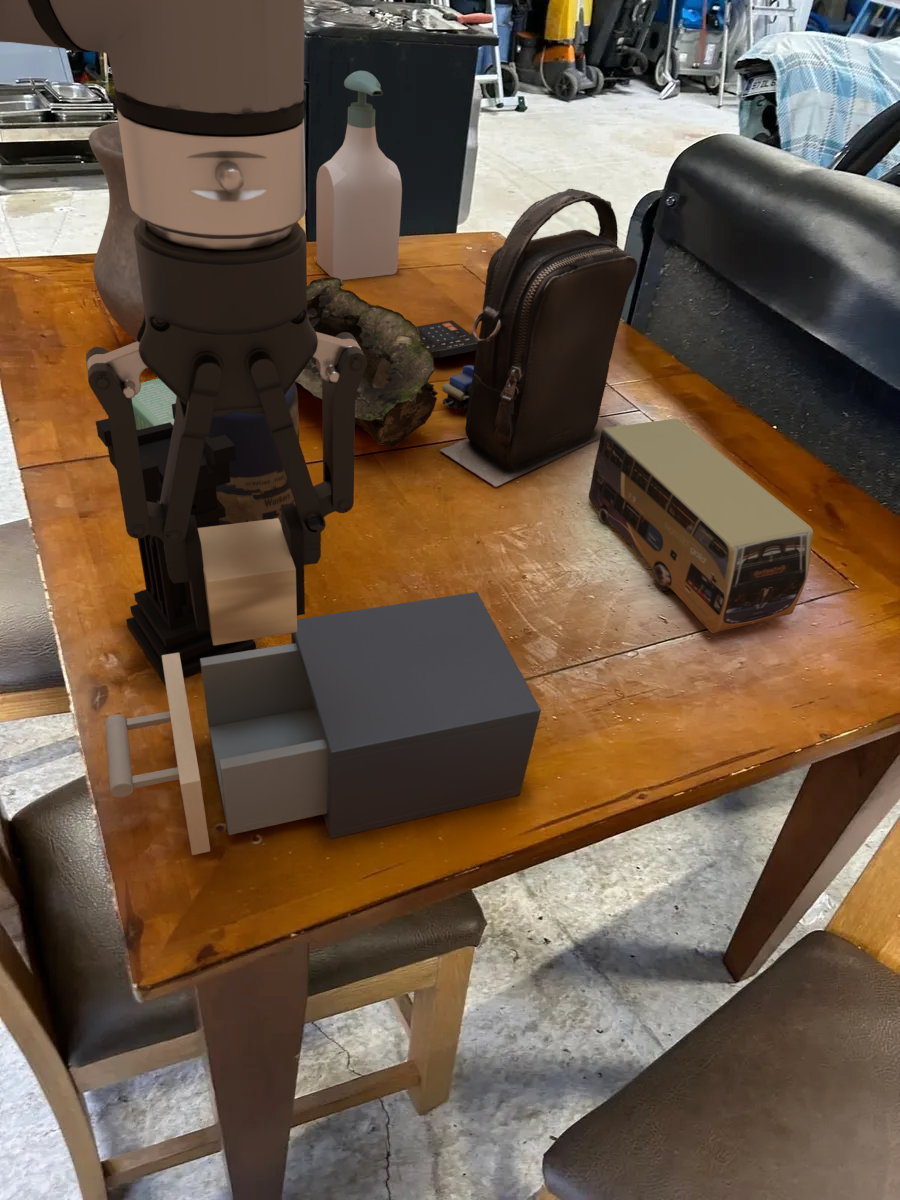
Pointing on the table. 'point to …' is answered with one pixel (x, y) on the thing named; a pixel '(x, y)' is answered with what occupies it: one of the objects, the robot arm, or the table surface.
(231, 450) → the chess piece
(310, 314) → the hollow geode rock
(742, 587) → the toy bus
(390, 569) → the table surface
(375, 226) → the soap bottle
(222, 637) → the block
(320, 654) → the cabinet
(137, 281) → the vase
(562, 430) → the shoulder bag
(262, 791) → the drawer
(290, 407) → the canister
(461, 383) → the toy train
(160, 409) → the box
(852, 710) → the table surface
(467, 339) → the calculator
